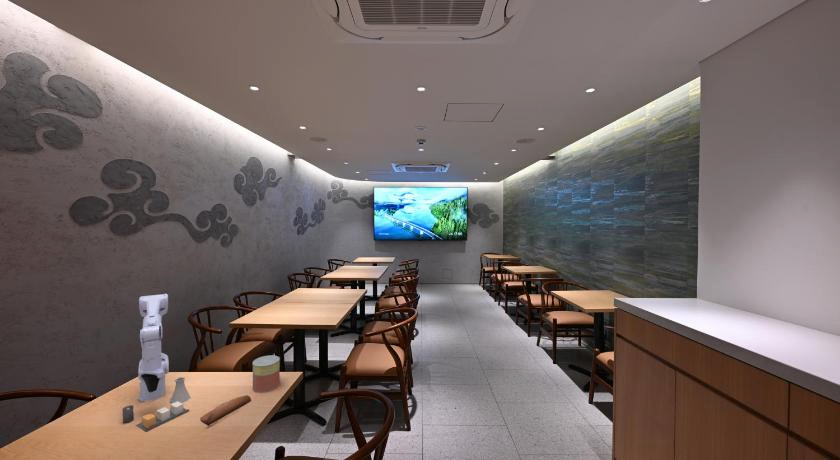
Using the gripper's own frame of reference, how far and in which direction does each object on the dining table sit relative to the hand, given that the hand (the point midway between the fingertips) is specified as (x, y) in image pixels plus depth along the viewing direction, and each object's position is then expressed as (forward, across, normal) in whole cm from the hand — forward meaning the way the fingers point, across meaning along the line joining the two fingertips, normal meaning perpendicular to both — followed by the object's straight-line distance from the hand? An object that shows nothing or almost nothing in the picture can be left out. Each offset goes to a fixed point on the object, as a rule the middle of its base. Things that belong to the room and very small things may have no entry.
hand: (152, 391), depth 124 cm
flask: (+10, 0, +10) cm, 14 cm away
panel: (+9, +8, 0) cm, 12 cm away
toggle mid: (+8, +8, 0) cm, 12 cm away
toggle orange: (+8, +8, -4) cm, 12 cm away
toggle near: (+8, +8, +4) cm, 12 cm away
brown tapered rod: (+10, +23, +14) cm, 29 cm away
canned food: (+10, +20, +35) cm, 41 cm away
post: (+9, -1, -7) cm, 12 cm away
